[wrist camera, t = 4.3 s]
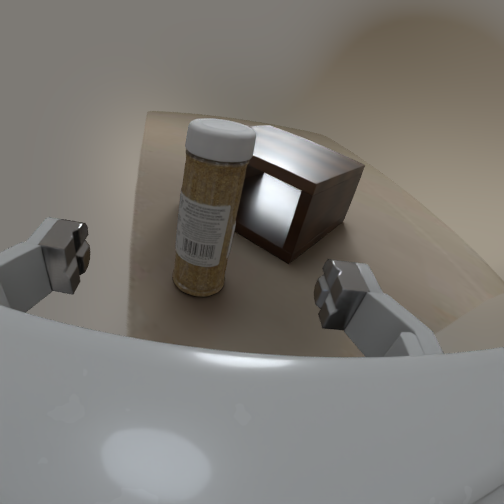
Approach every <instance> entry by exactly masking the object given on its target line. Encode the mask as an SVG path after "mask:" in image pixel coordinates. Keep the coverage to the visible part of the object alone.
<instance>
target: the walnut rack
mask: <svg viewBox="0 0 504 504" xmlns="http://www.w3.org/2000/svg"><path fill="white" fill-rule="evenodd" d="M248 127H250V128H252V129H253V130H254V131H255V132H256V142H255V147H254V152H253V156H252V158H251V159H250V160H249V164H248V165H247V168H246V173H245V179H244V182H243V188H242V193H241V198H240V203H239V207H238V211H237V216H236V225H235V230H234V231H236V232H237V233H239V234H241V235H242V236H244V237H246V238H247V239H249V240H251V241H252V242H254V243H256V244H257V245H259V246H260V247H262V248H264V249H265V250H267V251H269V252H270V253H272V254H274V255H275V256H277V257H278V258H280V259H282V260H283V261H285V262H287V263H288V264H289V263H290V262H292V261H293V260H294V259H296V258H297V257H298V256H300V255H301V254H302V253H303V252H305V251H306V250H307V249H309V248H310V247H311V246H312V245H314V244H315V243H316V242H318V241H319V240H320V239H321V238H323V237H324V236H325V235H327V234H328V233H329V232H330V231H332V230H333V229H334V228H335V227H337V226H338V225H339V224H341V223H342V222H343V221H344V219H345V216H346V214H347V211H348V209H349V206H350V204H351V201H352V199H353V196H354V194H355V191H356V188H357V186H358V183H359V181H360V178H361V175H362V172H363V170H364V167H365V165H364V164H362V163H359V162H357V161H355V160H353V159H351V158H349V157H346V156H344V155H342V154H340V153H337V152H335V151H333V150H331V149H328V148H326V147H324V146H321V145H319V144H316V143H314V142H312V141H309V140H307V139H304V138H302V137H299V136H296V135H294V134H291V133H289V132H286V131H283V130H281V129H278V128H275V127H273V126H270V125H269V126H248ZM264 172H265V173H267V174H269V175H271V176H273V177H276V178H278V179H280V180H282V181H284V182H286V183H288V184H290V185H292V186H294V187H296V188H298V189H300V190H302V191H300V190H298V189H296V188H294V187H292V186H289V185H287V184H285V183H283V182H281V181H279V180H277V179H275V178H273V177H271V176H269V175H266V174H264Z"/></svg>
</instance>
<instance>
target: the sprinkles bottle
mask: <svg viewBox="0 0 504 504" xmlns="http://www.w3.org/2000/svg"><path fill="white" fill-rule="evenodd" d="M255 142H256V132H255V131H254V130H253V129H252V128H250V127H248V126H246V125H243V124H240V123H236V122H232V121H227V120H221V119H210V118H205V119H196V120H193V121H191V122H190V123H189V126H188V132H187V137H186V144H185V147H186V163H185V170H184V178H183V185H182V188H181V195H180V205H179V214H178V224H177V235H176V259H175V269H174V271H173V280H174V282H175V284H176V286H177V287H178V288H179V289H180V290H181V291H183V292H185V293H187V294H190V295H194V296H210V295H212V294H215V293H217V292H219V291H220V289H221V288H222V287H223V284H224V280H225V277H224V274H225V270H226V265H227V259H228V256H229V254H230V249H231V245H232V240H233V235H234V230H235V225H236V216H237V211H238V207H239V203H240V198H241V193H242V188H243V182H244V179H245V173H246V168H247V165H248V164H249V160H250V159H251V158H252V156H253V152H254V147H255Z"/></svg>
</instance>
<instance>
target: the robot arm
mask: <svg viewBox="0 0 504 504" xmlns="http://www.w3.org/2000/svg"><path fill="white" fill-rule="evenodd" d="M87 236H88V227H87V225H86V224H85V223H82V222H76V221H70V220H64V219H58V218H51V217H49V218H46V219H45V220H44V221H43V222H42V223H41V225H40V226H39V227H38V228H37V229H36V230H35V232H34V233H33V234H32V235H31V236H30V238H29V239H28V240H27V241H26V242H21V243H19V244H16V245H14V246H12V247H10V248H8V249H6V250H4V251H2V252H0V504H504V347H500V348H493V349H487V350H486V349H485V350H477V351H469V352H460V353H448V354H444V353H443V351H442V349H441V347H440V345H439V343H438V341H437V339H436V337H435V335H434V333H433V331H432V330H430V329H429V328H428V327H427V326H426V325H424V324H423V323H422V322H421V321H420V320H418V319H417V318H416V317H415V316H413V315H412V314H411V313H410V312H409V311H407V310H406V309H405V308H404V307H402V306H401V305H400V304H399V303H397V302H396V301H395V300H394V299H392V298H391V297H390V296H389V295H387V294H383V292H382V290H381V288H380V286H379V284H378V282H377V280H376V278H375V276H374V275H373V273H372V271H371V269H370V267H369V266H368V265H367V264H364V263H355V262H354V263H353V262H346V261H338V260H331V259H328V260H327V261H326V262H325V264H324V266H323V268H322V269H323V272H324V275H322V276H321V277H319V278H318V280H317V282H316V285H315V290H314V300H315V304H316V305H317V306H318V307H319V308H320V311H319V313H318V315H319V318H320V322H321V326H322V328H324V329H335V330H344V332H345V333H346V334H347V335H348V337H349V338H350V339H351V340H352V341H353V343H354V344H355V345H356V346H357V347H358V348H359V350H360V351H361V352H362V353H363V354H364V355H365V357H306V356H285V355H270V354H257V353H245V352H234V351H224V350H215V349H206V348H198V347H190V346H183V345H175V344H169V343H162V342H156V341H150V340H144V339H138V338H132V337H127V336H121V335H116V334H111V333H106V332H101V331H97V330H92V329H87V328H83V327H79V326H74V325H70V324H65V323H62V322H57V321H53V320H50V319H46V318H42V317H39V316H35V315H32V314H28V313H26V312H27V311H28V310H29V309H31V308H32V307H33V306H34V305H36V304H37V303H38V302H40V300H42V299H43V298H45V297H46V296H47V295H48V294H50V293H51V292H52V291H57V292H62V293H67V294H74V292H75V290H76V288H77V287H78V285H79V283H80V275H81V274H83V273H85V271H86V269H87V267H88V264H89V260H90V246H89V244H88V243H87V241H86V240H85V239H86V237H87Z"/></svg>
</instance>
